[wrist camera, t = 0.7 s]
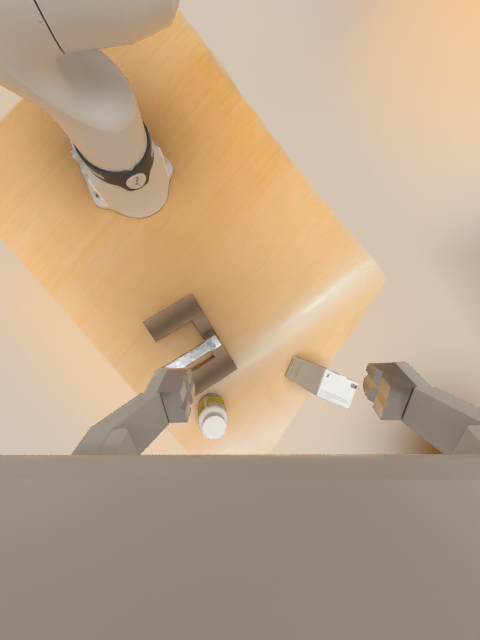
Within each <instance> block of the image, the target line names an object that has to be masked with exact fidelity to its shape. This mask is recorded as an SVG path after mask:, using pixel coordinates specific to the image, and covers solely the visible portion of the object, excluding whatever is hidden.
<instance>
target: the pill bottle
mask: <svg viewBox="0 0 480 640" xmlns="http://www.w3.org/2000/svg"><path fill="white" fill-rule="evenodd" d="M227 423H228V416H227V412H226V409H225V406H224V402H223V400H222V399H221V397H219V396H218V395H216V394H208V395H205V396H204V397H203V398H202V399H201V400H200V402H199V405H198V424H199V427H200V429H201V431H202V432H203V434H204V435H205V437H207V438H208V439H212V440H214V439H218V438H220V437H221V436H222V435H223V434H224V433H225V431H226V426H227Z"/></svg>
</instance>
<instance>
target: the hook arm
mask: <svg viewBox="0 0 480 640" xmlns="http://www.w3.org/2000/svg"><path fill="white" fill-rule="evenodd" d="M203 335H204V340H205V342H203V343H201V344H200V345H198V346H197V347H195V348H193V349H192V350H190V351H189V352H187V353H185V354H184V355H182V356H180V357H179V358H177V359H176V360H174V361H172V362H171V363H169V364H167V365H166V366H163V367H161V368H183V367H185V366H187V365H188V364H190V363H191V362H193V361H194V360H196V359H198V358H199V357H201V356H202V355H204V354H206V353H207V352H209V351H210V350H211V351H213V350H214V349H216V348H217V347H219V346H221V343H220V342H219V340H218V338H217V337H216V335H215V334H214V333H213V331H212V330H209V331H208V332H206V333H204V334H203ZM156 371H157V370H156ZM156 371H155V373H156Z"/></svg>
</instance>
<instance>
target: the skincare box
mask: <svg viewBox="0 0 480 640" xmlns="http://www.w3.org/2000/svg"><path fill="white" fill-rule="evenodd" d="M285 376H286V377H287V378H289V379H290V380H292V381H294V382H295V383H297V384H299V385H300V386H302V387H303V388H305V389H307V390H308V391H310V392H312V393H313V394H315V395H316V396H318V397H320V398H323V399H325V400H327V401H329V402H332V403H334V404H337V405H339V406H341V407H344V408H347V409H348V408H349V406H350V404H351V401H352V398H353V396H354V393H355V390H356V387H357V385H358V383H357V382H355V381H353V380H350V379H348V378H346V377H344V376H342V375H340V374H338V373H335V372H333V371H331V370H328V369H327V368H324V367H321V366H319V365H316V364H314V363H311V362H308V361H306V360H303V359H300V358H298V357H295V356H294V357H293V359H292V362H291V364H290V366H289V368H288V371H287V373H286V375H285Z"/></svg>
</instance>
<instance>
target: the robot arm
mask: <svg viewBox="0 0 480 640" xmlns="http://www.w3.org/2000/svg"><path fill="white" fill-rule="evenodd" d="M178 4H179V0H0V85H1V86H3V87H5V88H7V89H8V90H10V91H12V92H14V93H16V94H18V95H19V96H21V97H22V98H24V99H26V100H27V101H29V102H30V103H32V104H34V105H35V106H37V107H38V108H39V109H41V110H42V111H44V112H45V113H46V114H47V115H49V116H50V117H51V118H52V119H53V120H54V121H55V122H56V123H57V124H58V125H59V127H60V128H61V129H62V130H63V131H64V132H65V134H66V135H67V136H68V137H69V140H70V143H71V146H72V148H73V149H72V150H70V153H71V155H72V157H73V159H74V160H75V162H76V163H77V164H79V166H80V170H81V172H82V174H83V176H84V178H85V181H86V184H87V186H88V189H89V191H90V194H91V196H92V199H93V201H94V203H95V204H96V206H97V207H99V208H103V209H111V210H114V211H116V212H118V213H120V214H122V215H125V216H128V217H133V218H142V217H147V216H150V215H152V214H154V213H156V212H157V211H159V210H160V209H161V208H162V206H163V205H164V204H165V202H166V200H167V197H168V192H169V181H170V179H171V177H172V175H173V172H174V169H173V166H172V164H171V163H170V162H169V161H168V160H167V158H166V157H165V156H164V155H163V154H162V151H161V149H160V147H157V146H156V144H155V143H154V142H153V141H152V140H151V137H150V134H149V132H148V130H147V128H146V126H145V124H144V122H143V121H142V118H141V114H140V111H139V107H138V104H137V101H136V97H135V94H134V91H133V88H132V86H131V84H130V83H129V81H128V79H127V78H126V76H125V75H124V74H123V72H122V71H121V70H120V69H119V67H118V66H117V65H116V64H115V63H114V62H113V61H112V60H111V59H110V58H109V57H108V56H107V55H106V54H104V53H103V52H102V51H100V50H99V49H101V48H108V47H116V46H123V45H131V44H134V43H136V42H138V41H141V40H143V39H145V38H147V37H150V36H152V35H154V34H156V33H157V32H159V31H161V30H163V29H165V28H167V27H169V26H171V24H172V22H173V20H174V18H175V15H176V12H177V8H178ZM97 195H99V197H97ZM366 371H367V373H368V375H367V376H366V377H365V378H364V382H363V387H364V392H365V395H366V396H367V398H368V399H369V400H370V401H372V402H373V403H374V405H373V408H374V410H375V412H376V413H377V415H378V416H379V418H380V420H402V422H403V423H405V424H406V425H407V426H409V427H410V428H411V429H413V430H414V431H415V432H416V433H418V434H419V435H420V436H422V437H423V438H424V439H426V440H427V441H428V442H429V443H431V444H432V445H433V446H435V447H436V448H437V449H438V450H440V451H441V452H442V453H444V454H384V455H383V454H382V455H381V454H375V455H374V454H367V455H365V454H363V455H362V454H356V455H355V454H350V455H348V454H347V455H346V454H343V455H342V454H339V455H338V454H336V455H140V454H141V453H142V452H143V451H144V450H145V449H146V448H147V447H148V446H149V444H151V442H152V441H153V440H154V439H155V438H156V437H157V436H158V435H159V434H160V433H161V432H162V431H163V430H164V429H165V428H166V426H167V425H168V424H169V423H178V422H188V418H189V415H190V411H191V408H190V404H192V403H193V401H194V397H195V385H194V382H193V381H192V380H191V378H192V371H191V369H190V368H159V369H158V370H157V371H156V373H155V374H154V376H153V378H152V380H151V382H150V383H149V385H148V387H147V389H146V391H145V392H144V393H140V394H139V395H137V396H136V397H135V398H133V399H132V400H130V401H129V402H128V403H126V404H124V405H123V406H121V407H120V408H119V409H117V410H116V411H114V412H113V413H111V414H110V415H108V416H107V417H105V418H104V419H103V420H101V421H100V422H98V423H97V424H95V425H94V426H92V427H91V428H90V429H89V430H88V432H87V433H86V435H85V436H84V438H83V439H82V440H81V442H80V443H79V445H78V446H77V447H76V449H75V450H74V451H73V453H72V454H71V455H0V640H480V408H479V407H476V406H474V405H472V404H470V403H468V402H466V401H464V400H462V399H460V398H458V397H455V396H453V395H451V394H449V393H447V392H445V391H443V390H441V389H439V388H436V387H431V386H430V385H429V384H428V383H427V382H426V381H425V380H424V379H423V378H422V377H421V376H420V375H419V374H418V373H417V372H416V371H415V370H414V369H413V368H412V367H411V366H410V365H409V364H408V363H406V362H393V363H369V364H368V366H367V369H366Z"/></svg>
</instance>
